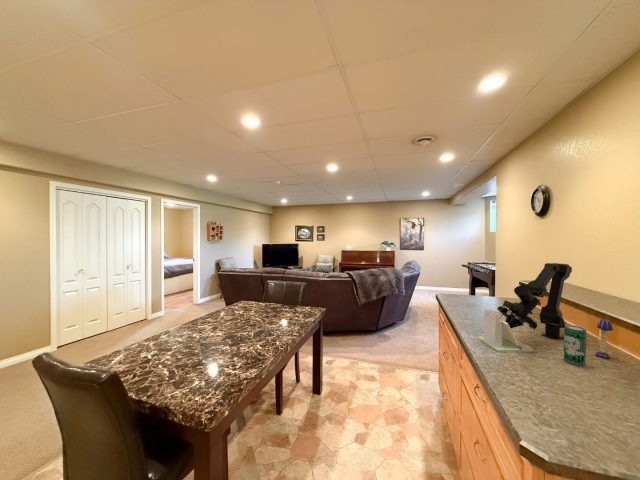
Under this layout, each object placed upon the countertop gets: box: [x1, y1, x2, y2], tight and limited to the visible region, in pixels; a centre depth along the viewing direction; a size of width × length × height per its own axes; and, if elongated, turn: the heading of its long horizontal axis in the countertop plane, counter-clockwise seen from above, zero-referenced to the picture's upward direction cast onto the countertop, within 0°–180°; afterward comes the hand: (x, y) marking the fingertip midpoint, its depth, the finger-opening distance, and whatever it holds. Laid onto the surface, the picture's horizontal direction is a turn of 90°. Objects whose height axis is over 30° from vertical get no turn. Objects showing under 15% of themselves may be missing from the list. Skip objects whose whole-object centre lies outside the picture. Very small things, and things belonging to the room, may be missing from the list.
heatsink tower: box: [483, 309, 504, 347], centre depth 122 cm, size 5×8×15 cm, turn 0°
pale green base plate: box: [476, 335, 535, 353], centre depth 122 cm, size 17×15×2 cm
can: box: [563, 324, 587, 368], centre depth 105 cm, size 6×6×15 cm
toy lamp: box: [595, 318, 614, 360], centre depth 109 cm, size 5×5×17 cm
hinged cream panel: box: [502, 320, 520, 347], centre depth 122 cm, size 1×13×14 cm, turn 179°
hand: (504, 329), depth 122 cm, fingers closed, pressing on hinged cream panel
